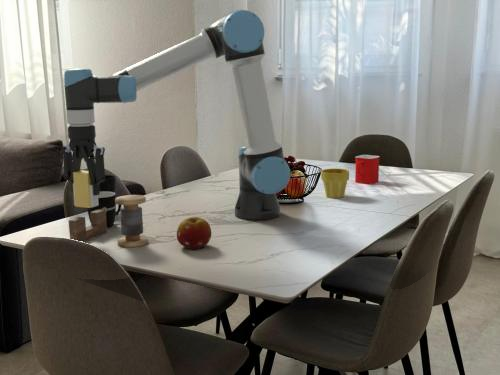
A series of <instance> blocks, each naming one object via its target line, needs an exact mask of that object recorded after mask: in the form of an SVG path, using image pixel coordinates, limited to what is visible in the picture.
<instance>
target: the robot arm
mask: <svg viewBox="0 0 500 375" xmlns="http://www.w3.org/2000/svg"><path fill="white" fill-rule="evenodd" d="M264 39H265V27H264V24H263V22H262V19H261V18H260V17H259V16H258V15H257V14H256V13H254V12H252V11H250V10H246V9H236V10H234V11H231V12H229V13H228V14H225V15H223V16H222V17H221V18H219V19H218V20H217V21H215V22H214V23H212V24H211V25H209V26H207V27H205V28H203V29H201V31H200V33H199V34H198V35H197V34H196V36H193V37H191V38H189V39H187V40H185V41H184V40H183V41H182V42H180V43H178V44H175V45H174V46H172V47H169V48H166V49H165V50H163V51H161V52H158V53H157V54H155V55H151V56H150V57H148V58H145V59H144V60H141V61H139V62H137V63H134V64H133V65H131V66H128V67H126V68H124V69H122V70H120V71H118V72H115V73H113V74H110V75H94V74H93V71H92V69H90V68H73V69H72V68H70V69H66V70H65V71H64V75H63V76H64V83H63V84H64V86H63V87H64V96H65V97H64V98H65V107H66V108H65V110H66V111H65V112H66V124H67V125H68V126H67V137H68V139H69V142H68V144H67V145H62V146H61V147H60V148H61V152H62V157H63V158H62V160H63V175H64V180H65V181H68V182H70V184H71V185H70V186H71V187H70V188H71V189H70V190H71V194H73V204H74V206H75V193H74V178H73V172H76V171H80V170H81V167H82V166H81V165H82V160H84V162H85V164H86V167H87V171H88V172H89V176H90V179H91V183H90V185H89V188H90V204H91V207H95V206H98V205H99V203H98V195H99V194H100V190H99V189H100V188H99V184H100V183H101V182H103V181H105V175H106V171H105V169H106V168H105V157H104V156H105V151H106V148H105V147H104V146H102V147H101V146H98V145H97V143H96V136H97V135H96V134H97V133H96V126H95V125H94V123H95V122H96V121H95V104H100V103H101V104H105V103H107V104H108V103H109V104H112V103H113V104H114V103H115V104H116V103H122V104H126V103H134V102H136V101H137V93H138V92H139V91H142V89H145V88H147V87H150V86H152V85H154V84H156V83H158V82H160V81H162V80H166V79H167V78H169V77H171V76H174V75H176V74H178V73H180V72H182V71H184V70H186V69H188V68H191V67H193V66H195V65H197V64H199V63H202V62H204V61H207V60H208V59H210V58H211V59H213V60H216V59H218V58H220V57H223V56H224V60H225V63H226V64H228V65H229V66H231V69H232V73H233V79H234V83H235V87H236V93H237V99H238V103H239V109H240V113H241V119H242V124H243V130H244V135H245V139H246V145H247V146H241V147H240V148H239V150H238V155H237V157H238V174H239V175H238V176H239V177H238V178H239V179H238V180H239V181H238V182H239V185H238V186H239V192H238V193H239V194H238V195H237V199H236V203H235V204H234V205H235V206H234V216H235V217H237V218H239V219H244V220H252V221H253V220H255V221H256V220H257V221H258V220H269V219H270V220H271V219H276V218H277V217H279V216H280V215H281V206H280V204H279V200H278V197H277V193H280V192H281V191H283V190H284V189H285V188H286V187H287V185H288V184H289V182H290V179H291V168H290V166H289V164H288V162H287V161H286V160H285V157H284V156H285V155H284V151H283V146H282V144H281V143H279V142H278V141H277V140H276V137H275V130H274V126H273V125H274V124H273V120H272V115H271V114H272V113H271V109H270V102H269V98H268V91H267V87H266V82H265V76H264V71H263V66H262V60H263V58H264V56H265V55H266V53H265V48H264Z"/></svg>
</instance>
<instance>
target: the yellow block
mask: <svg viewBox="0 0 500 375" xmlns="http://www.w3.org/2000/svg"><path fill="white" fill-rule="evenodd" d="M73 178H74V193H75V205H74V206H75V207H77V208H85V209H87V208H91V204H90V188H89V185H90V183H91V179H90V176H89V172H88V170H83V169H82V170H81V169H80V171H76V172H73ZM74 193H73V194H74Z"/></svg>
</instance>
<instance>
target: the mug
mask: <svg viewBox="0 0 500 375" xmlns="http://www.w3.org/2000/svg"><path fill="white" fill-rule="evenodd" d="M117 197H118V196H116V192H115V193H114V192H100V194H99V195H98V203H99V205H98V206H95V207H91V208H86V209H87V214H88V218H89V222H90V224H91V216H90V212H92V211H95V210H98V209H105V210H106V222H107V229H108V228H111V227H113V226H114V225H115V221H116V217H117V216H118V215H119V214H120V209H121V208H122V205H118V204H116V203H115V198H117ZM117 206H118V207H117ZM116 208H117V209H116Z"/></svg>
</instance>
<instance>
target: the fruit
mask: <svg viewBox="0 0 500 375" xmlns="http://www.w3.org/2000/svg"><path fill="white" fill-rule="evenodd" d="M211 238H212V228H211V226H210V223H209V222H208V221H207V220H206V219H205V218H203V217H199V216H192V217H188V218H187V217H186V218H185V219H183V220H182V221H181V222H180V224H178V226H177V230H176V239H177V243H179V245H181V246H182V247H185V248H188V249H193V250H195V249H202V248H204V247H205V246H207V245H208V244H209V242H210V240H211Z"/></svg>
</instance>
